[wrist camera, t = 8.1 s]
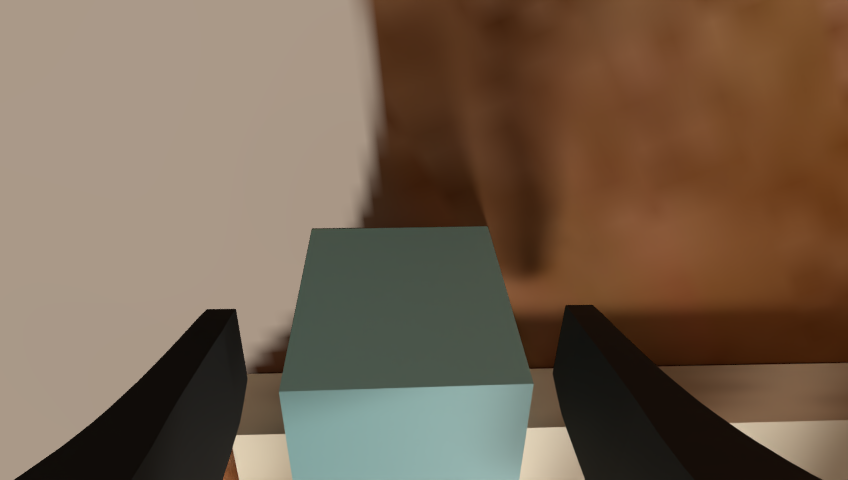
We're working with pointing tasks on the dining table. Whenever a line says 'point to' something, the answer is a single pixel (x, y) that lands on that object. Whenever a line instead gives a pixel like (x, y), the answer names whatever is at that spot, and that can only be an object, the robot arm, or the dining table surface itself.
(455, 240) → the teal cube mallet
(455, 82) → the dining table surface
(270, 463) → the board
